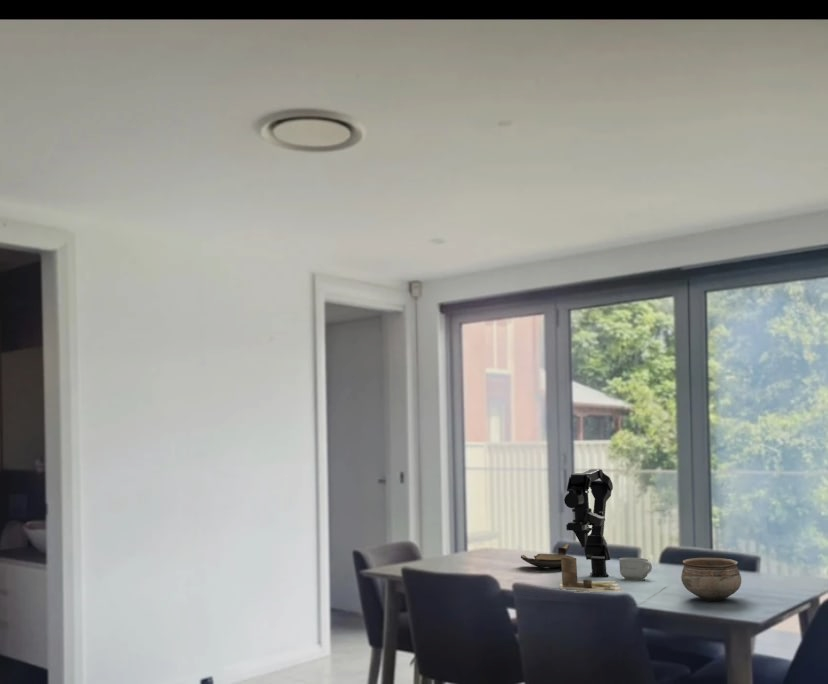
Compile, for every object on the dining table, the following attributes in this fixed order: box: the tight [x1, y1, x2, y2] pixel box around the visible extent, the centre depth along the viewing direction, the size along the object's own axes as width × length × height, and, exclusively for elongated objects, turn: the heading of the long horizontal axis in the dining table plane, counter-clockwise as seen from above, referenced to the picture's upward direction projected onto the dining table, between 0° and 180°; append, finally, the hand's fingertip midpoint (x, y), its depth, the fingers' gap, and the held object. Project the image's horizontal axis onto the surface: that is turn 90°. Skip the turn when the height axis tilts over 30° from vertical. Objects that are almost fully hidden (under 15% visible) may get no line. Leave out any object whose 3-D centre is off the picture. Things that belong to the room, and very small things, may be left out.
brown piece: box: [560, 557, 611, 588], centre depth 292 cm, size 18×3×10 cm, turn 58°
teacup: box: [618, 557, 653, 581], centre depth 308 cm, size 14×11×8 cm
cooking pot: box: [680, 557, 742, 602], centre depth 269 cm, size 25×19×12 cm
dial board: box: [558, 580, 624, 593], centre depth 293 cm, size 20×21×1 cm
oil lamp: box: [520, 543, 575, 569], centre depth 346 cm, size 22×30×8 cm
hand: (583, 547), depth 309 cm, fingers closed
